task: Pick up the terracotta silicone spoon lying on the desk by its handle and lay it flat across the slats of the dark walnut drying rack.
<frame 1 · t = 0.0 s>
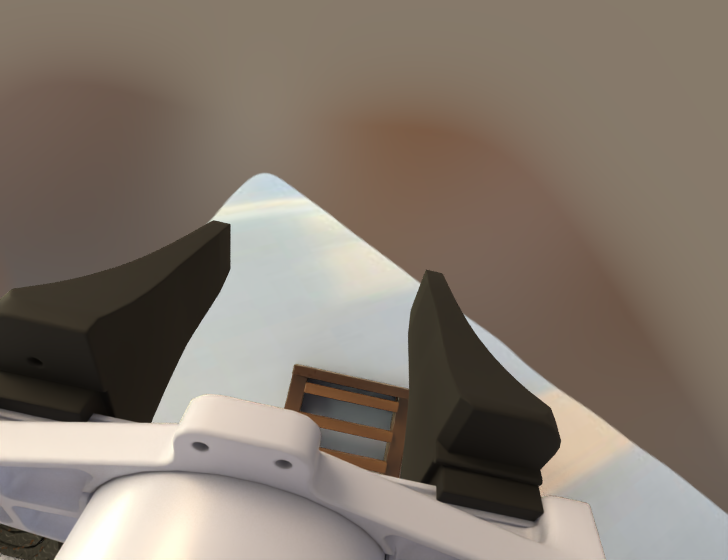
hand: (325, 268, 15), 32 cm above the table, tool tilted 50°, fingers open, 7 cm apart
hairbrush: (50, 533, 42), on the table
rack: (338, 452, 45), on the table
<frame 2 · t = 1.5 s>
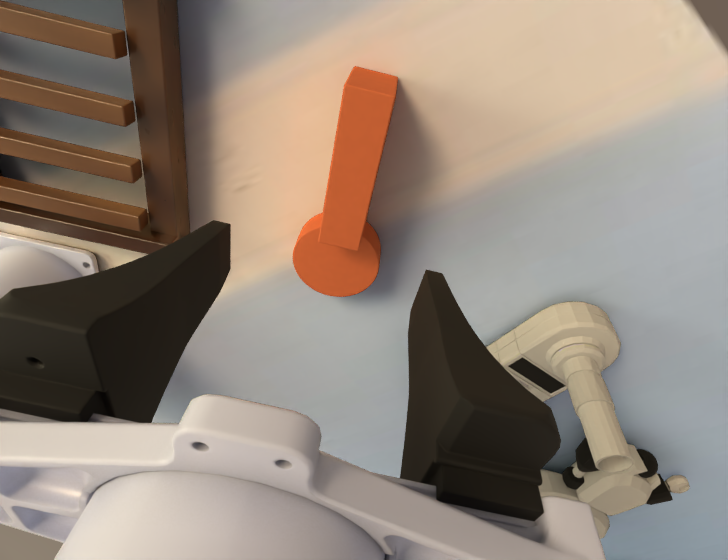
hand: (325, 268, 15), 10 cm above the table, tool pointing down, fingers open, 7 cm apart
robot toy: (568, 467, 40), on the table
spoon: (349, 199, 25), on the table
electronic device: (508, 358, 32), on the table
rack: (58, 78, 22), on the table
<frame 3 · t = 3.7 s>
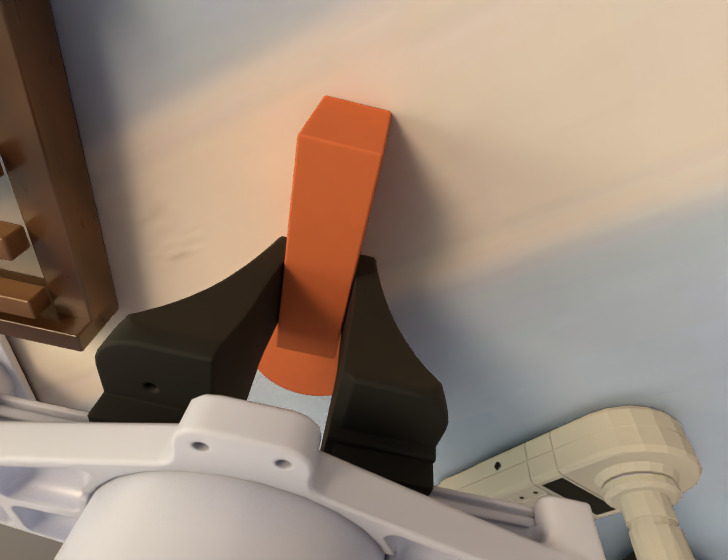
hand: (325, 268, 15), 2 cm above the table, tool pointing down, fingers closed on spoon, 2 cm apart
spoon: (326, 273, 18), on the table, touching gripper
electronic device: (538, 458, 25), on the table
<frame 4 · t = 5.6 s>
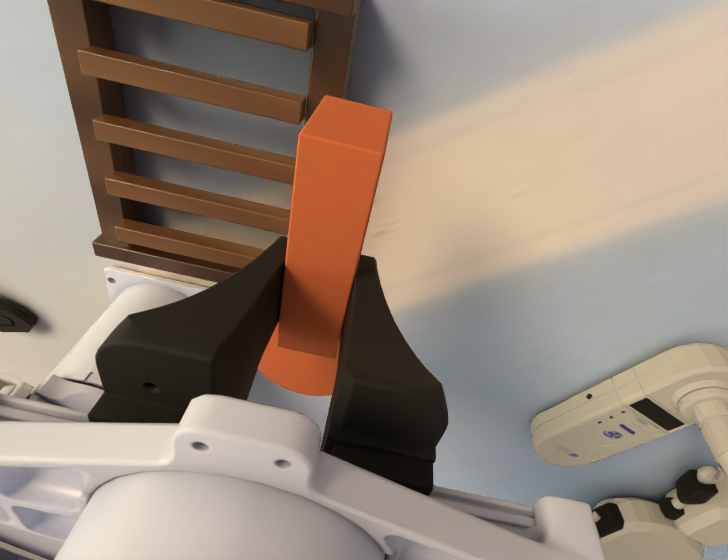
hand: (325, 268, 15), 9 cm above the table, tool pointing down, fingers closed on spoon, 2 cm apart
robot toy: (658, 494, 39), on the table
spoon: (327, 273, 18), point 8 cm above the table, touching gripper
electronic device: (617, 393, 32), on the table
rack: (217, 133, 23), on the table
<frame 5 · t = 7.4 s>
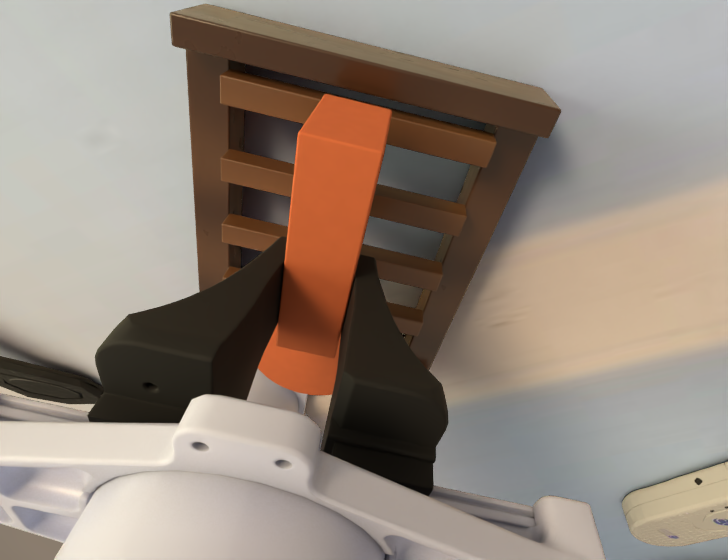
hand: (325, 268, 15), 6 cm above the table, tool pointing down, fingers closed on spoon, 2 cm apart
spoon: (326, 272, 18), point 4 cm above the table, touching gripper
electronic device: (723, 474, 30), on the table
rack: (341, 226, 21), on the table
when the fingers open (4 cm above the table, at t = 8.0 s): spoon stays where it is, resting on rack.
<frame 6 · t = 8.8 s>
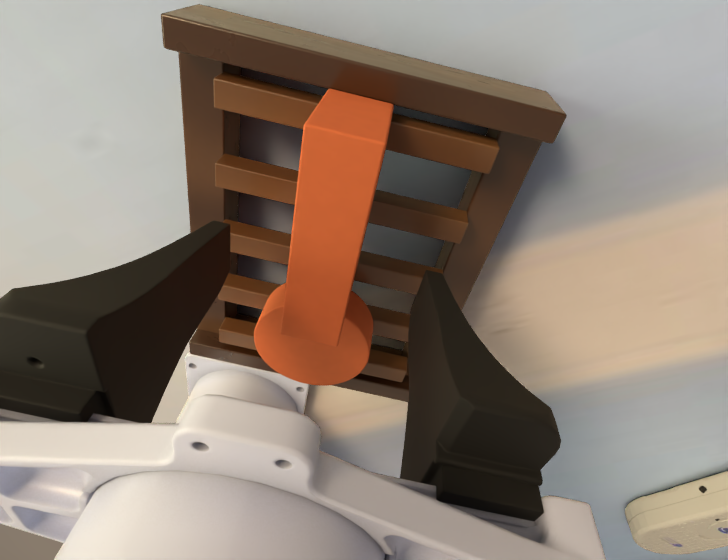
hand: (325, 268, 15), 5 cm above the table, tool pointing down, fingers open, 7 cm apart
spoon: (329, 264, 18), point 3 cm above the table, touching rack
rack: (339, 231, 20), on the table
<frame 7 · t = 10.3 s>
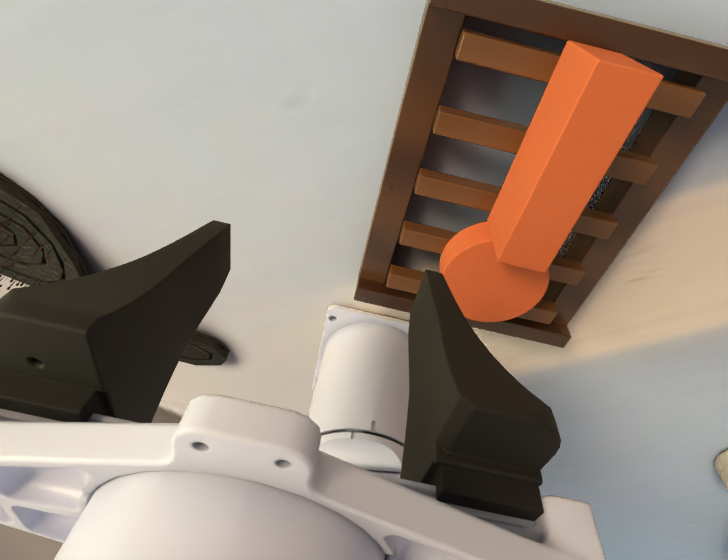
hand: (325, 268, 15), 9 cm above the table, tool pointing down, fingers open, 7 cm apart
hairbrush: (75, 263, 30), on the table
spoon: (516, 207, 20), point 3 cm above the table, touching rack
rack: (507, 183, 22), on the table
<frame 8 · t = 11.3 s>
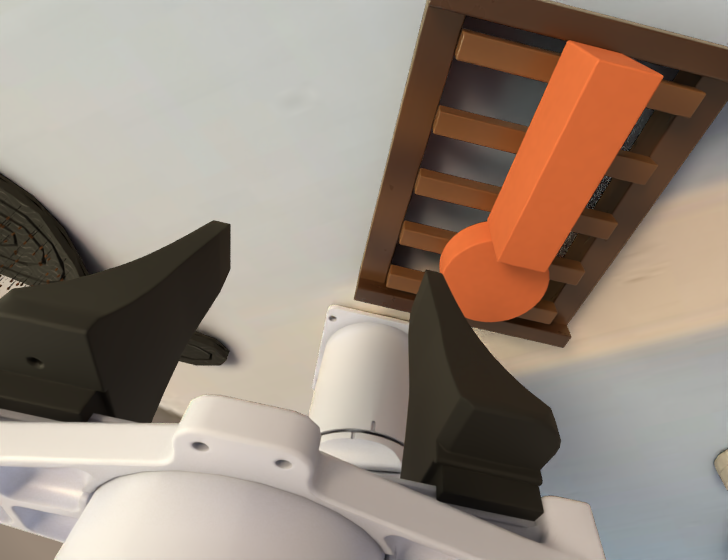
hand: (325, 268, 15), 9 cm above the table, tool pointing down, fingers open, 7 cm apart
hairbrush: (75, 263, 30), on the table
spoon: (516, 207, 20), point 3 cm above the table, touching rack
rack: (507, 183, 22), on the table
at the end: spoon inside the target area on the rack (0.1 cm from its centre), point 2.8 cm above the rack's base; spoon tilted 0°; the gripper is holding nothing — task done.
